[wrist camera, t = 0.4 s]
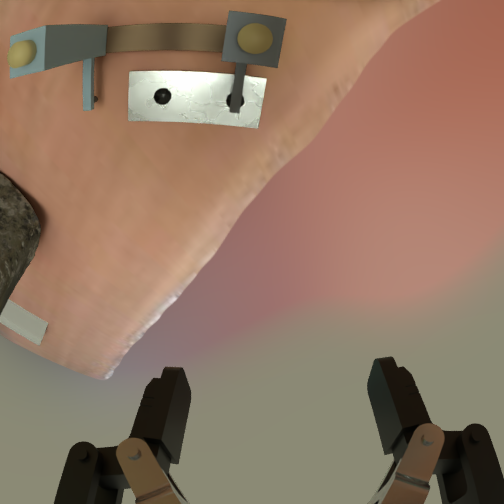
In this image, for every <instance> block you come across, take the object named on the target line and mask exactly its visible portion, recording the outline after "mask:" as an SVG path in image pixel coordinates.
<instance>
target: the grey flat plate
mask: <svg viewBox="0 0 504 504" xmlns="http://www.w3.org/2000/svg"><path fill="white" fill-rule="evenodd" d="M234 75H235V74H229V73H218V72H204V71H181V70H141V71H130V72H129V97H128V121H166V122H190V123H206V124H219V125H230V126H240V127H249V128H257V129H258V126H259V120H260V115H261V109H262V103H263V97H264V91H265V86H266V80H267V79H266V78H263V77H255V76H248V75H245V79H244V86H243V93H242V99H241V106H240V113H239V114H238V113H230V104H231V96H232V89H233V82H234Z"/></svg>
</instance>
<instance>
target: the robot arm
mask: <svg viewBox="0 0 504 504" xmlns="http://www.w3.org/2000/svg"><path fill="white" fill-rule="evenodd" d="M367 390H368V395H369V398H370V402H371V405H372V409H373V412H374V416H375V420H376V423H377V427H378V431H379V435H380V439H381V442H382V447H383V451H384V454H385V455H387V454H391V453H393V456H394V460H393V462H392V464H391V465H390V467H389V469H388V471H387V473H386V475H385V477H384V479H383V481H382V482H381V484H380V486H379V488H378V489H377V491H376V493H375V494H374V496H373V497H372V499H371V500H370V501H369V502H368V504H424V502H425V500H426V497H427V495H428V493H429V490H430V486H429V480H430V478H431V476H432V474H436V475H437V480H438V484H439V489H440V494H441V499H442V504H504V478H503V474H502V472H501V468H500V465H499V462H498V458H497V455H496V452H495V450H494V447H493V444H492V441H491V439H490V436H489V433H488V431H487V429H486V428H485V427H484V426H482V425H480V424H471V425H469V426H467V427H466V428H465V429H464V430H463V431H443V430H442V429H441V428H440V427H438V426H437V425H435V424H433V423H432V422H431V420H430V418H429V415H428V412H427V410H426V407H425V405H424V402H423V400H422V398H421V395H420V393H419V391H418V388H417V386H416V384H415V381H414V379H413V377H412V374H411V373H410V372H409V371H408V370H406V368H405V367H399V368H398V367H397V365H396V362H395V360H394V358H393V357H385V358H378V359H375V360H374V363H373V366H372V369H371V372H370V376H369V379H368V383H367ZM190 403H191V390H190V386H189V384H188V381H187V378H186V375H185V372H184V370H183V368H181V367H165V368H164V369H163V372H162V375H161V378H153V379H152V380H151V382H150V383H149V384H148V385H147V386H146V388H145V391H144V394H143V398H142V400H141V403H140V407H139V409H138V412H137V415H136V418H135V421H134V425H133V428H132V431H131V434H130V436H129V438H128V439H126V440H124V441H123V442H121V443H120V444H119V445H118V446H114V447H105V448H96V447H95V446H94V445H92V444H91V443H89V442H79V443H76V444H75V445H74V446H73V447H72V448H71V449H70V451H69V454H68V457H67V460H66V463H65V467H64V470H63V473H62V476H61V480H60V483H59V487H58V490H57V494H56V497H55V501H54V504H121V503H122V497H123V492H124V489H127V488H131V489H132V491H133V493H134V495H135V497H136V500H135V503H136V504H190V503H189V502H188V501H187V499H186V497H185V496H184V494H183V493H182V492H181V490H180V488H179V487H178V485H177V484H176V482H175V481H174V479H173V478H172V476H171V475H170V473H169V468H170V463H173V464H179V459H180V453H181V448H182V443H183V438H184V433H185V428H186V422H187V418H188V413H189V407H190Z"/></svg>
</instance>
